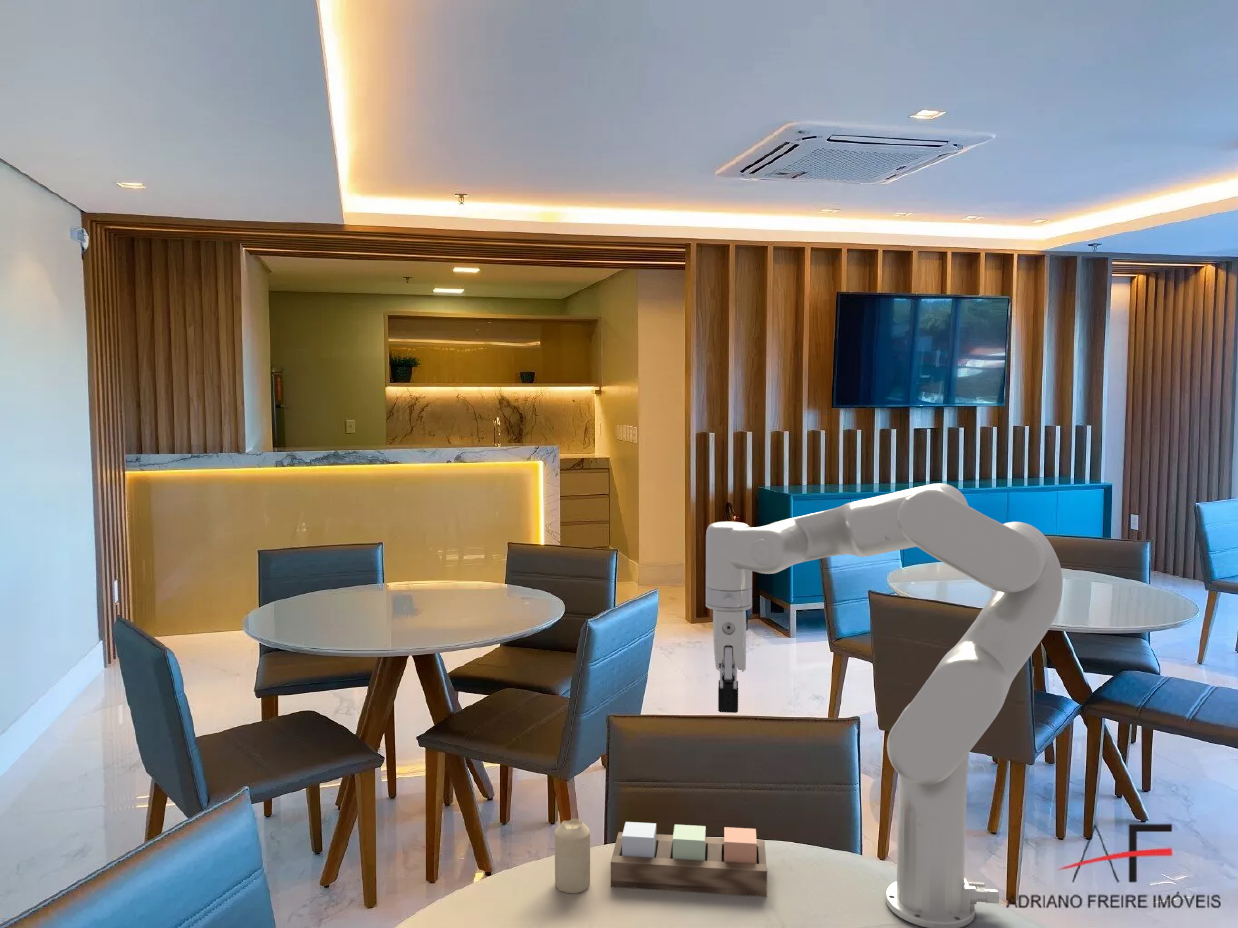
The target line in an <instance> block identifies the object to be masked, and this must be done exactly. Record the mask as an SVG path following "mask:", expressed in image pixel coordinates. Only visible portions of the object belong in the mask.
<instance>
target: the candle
mask: <svg viewBox="0 0 1238 928" xmlns="http://www.w3.org/2000/svg"><path fill="white" fill-rule="evenodd" d="M590 884H591V830H590V828H589V827H588V826H587V825H586V824H585V823H584V822H583V821H582V820H579V819H578V818H576V817H575V818H572V819H569V820H563V821H561V823H560V824H559V825H558V827H556V828H555V830H554V885H555V888H556V889H557V890H558V891H560V892H562V893H564V894H579V893H582V892H584V891H586V890H587V889H589V887H590V886H591V885H590Z"/></svg>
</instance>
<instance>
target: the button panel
mask: <svg viewBox="0 0 1238 928" xmlns="http://www.w3.org/2000/svg"><path fill="white" fill-rule="evenodd" d="M622 834H623V831H618V833H617V837H616V841H615V844H614V846H613V847H614V848H613V852H612V854H611V855H612V856H611V859H610V887H611V888H622V889H623V888H624V889H638V890H639V889H640V890H655V891H670V892H684V893H685V892H687V893H704V894H719V895H733V896H751V897H763V898H765V897H766V898H767V897H768V891H767V890H768V871H767V870H768V867H767V854H766V841H765V840H764V839H756V841H757V864H752V863H735V862H724V837H712V836H706V854H705V861H701V860H684V859H673V834H657V833H656V855H655V858H650V857H633V856H622Z"/></svg>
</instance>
